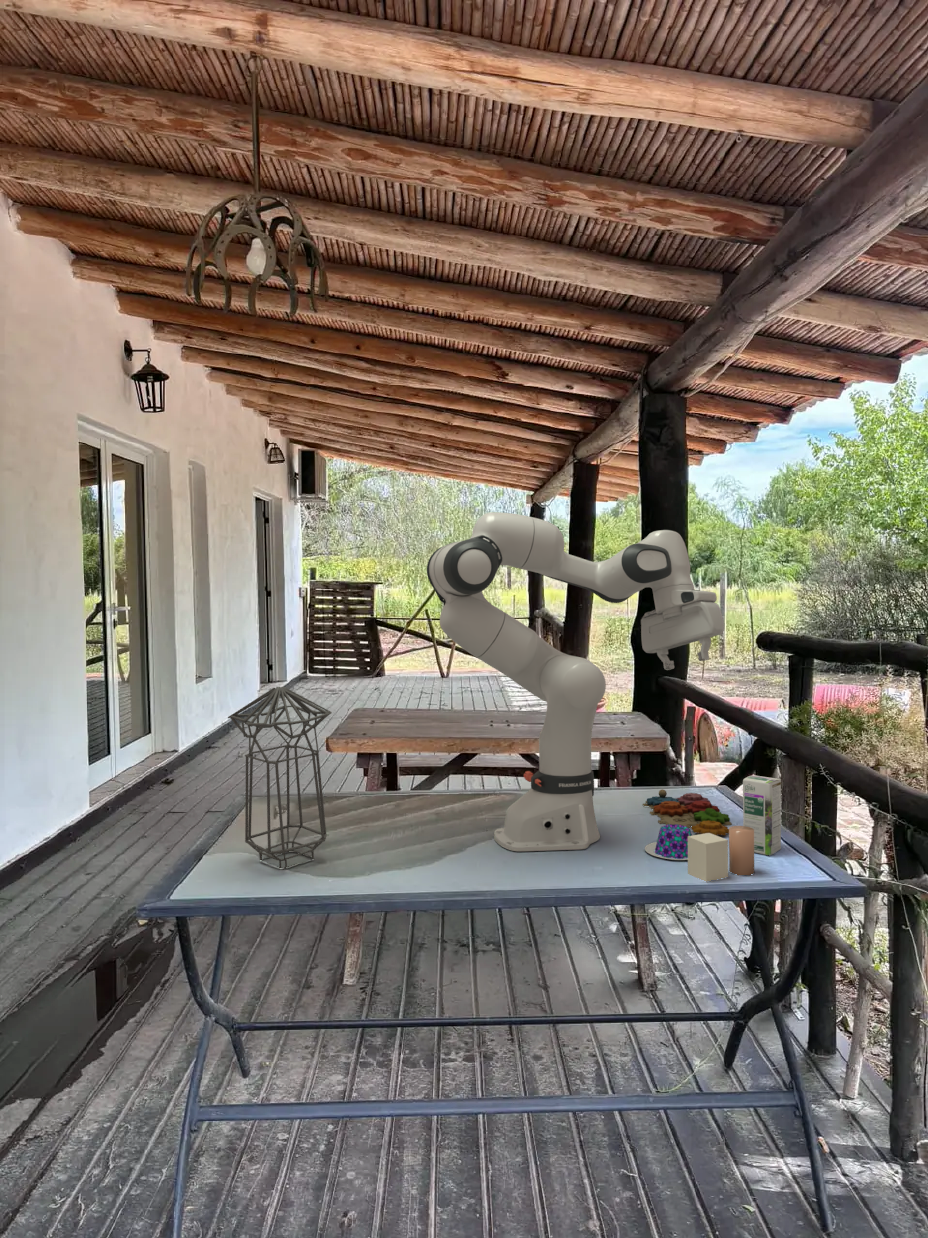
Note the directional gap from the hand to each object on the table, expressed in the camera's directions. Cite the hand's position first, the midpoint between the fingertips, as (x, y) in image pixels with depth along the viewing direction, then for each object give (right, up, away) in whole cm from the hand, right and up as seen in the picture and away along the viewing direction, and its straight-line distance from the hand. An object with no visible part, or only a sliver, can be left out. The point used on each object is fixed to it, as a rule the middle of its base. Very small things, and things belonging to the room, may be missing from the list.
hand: (686, 665), depth 178 cm
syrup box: (+12, -37, -12) cm, 40 cm away
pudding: (-6, -37, -12) cm, 40 cm away
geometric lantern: (-83, -38, -14) cm, 93 cm away
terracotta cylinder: (+4, -37, -25) cm, 45 cm away
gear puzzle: (+4, -37, +11) cm, 38 cm away
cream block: (-3, -37, -26) cm, 46 cm away
